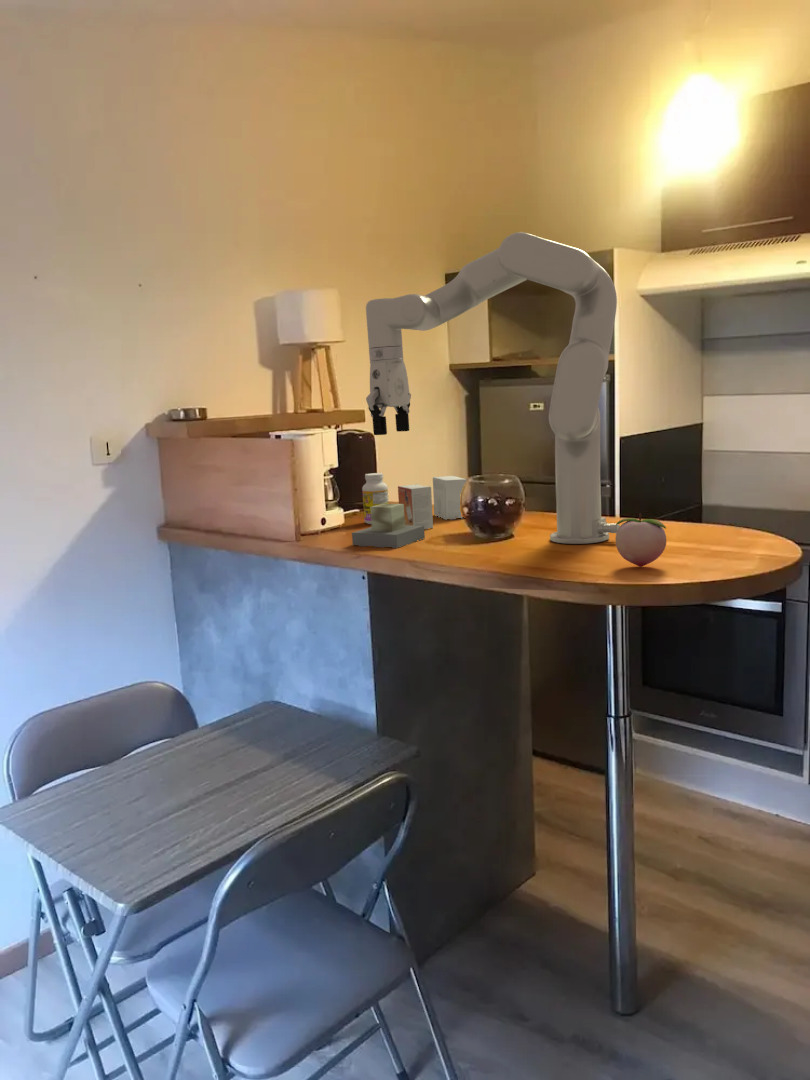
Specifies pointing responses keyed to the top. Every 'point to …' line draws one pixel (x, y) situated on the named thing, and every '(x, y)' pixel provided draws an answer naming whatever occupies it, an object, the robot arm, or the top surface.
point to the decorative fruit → (640, 540)
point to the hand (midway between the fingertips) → (391, 432)
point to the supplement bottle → (373, 494)
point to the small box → (416, 505)
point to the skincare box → (447, 496)
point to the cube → (387, 517)
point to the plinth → (388, 537)
